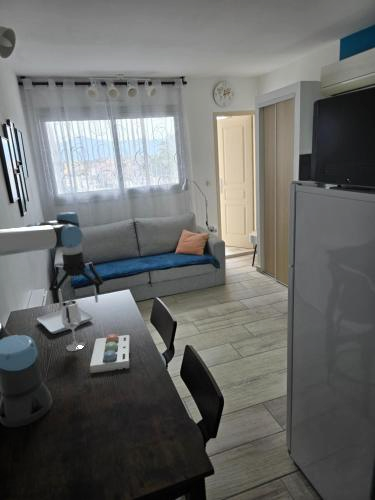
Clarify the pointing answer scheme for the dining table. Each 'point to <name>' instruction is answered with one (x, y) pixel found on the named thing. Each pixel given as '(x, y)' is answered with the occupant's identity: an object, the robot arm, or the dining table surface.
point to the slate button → (109, 356)
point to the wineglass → (71, 322)
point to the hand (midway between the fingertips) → (79, 303)
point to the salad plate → (55, 322)
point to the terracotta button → (112, 338)
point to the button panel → (121, 353)
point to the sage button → (111, 346)
